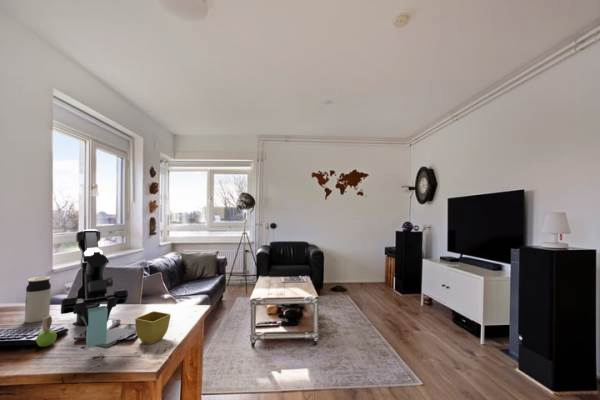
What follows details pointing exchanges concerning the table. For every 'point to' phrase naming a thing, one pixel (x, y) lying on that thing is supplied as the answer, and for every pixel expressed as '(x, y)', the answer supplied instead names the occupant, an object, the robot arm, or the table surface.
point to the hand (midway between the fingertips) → (97, 323)
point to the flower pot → (152, 326)
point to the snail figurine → (46, 333)
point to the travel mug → (37, 299)
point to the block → (96, 326)
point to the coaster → (114, 336)
